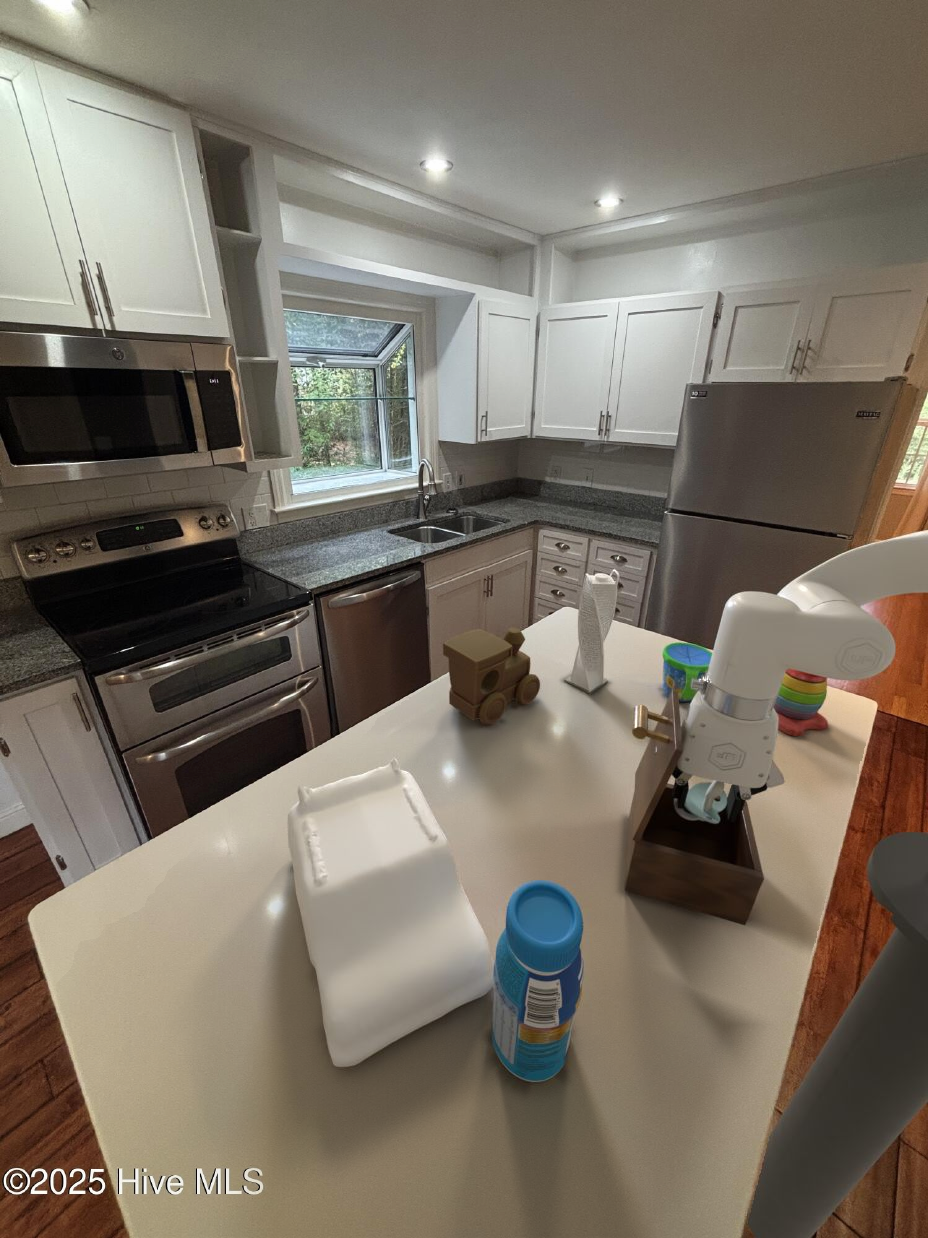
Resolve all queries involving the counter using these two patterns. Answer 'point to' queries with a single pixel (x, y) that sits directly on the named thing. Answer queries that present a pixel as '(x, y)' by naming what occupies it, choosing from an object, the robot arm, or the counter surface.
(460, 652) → the wooden toy train
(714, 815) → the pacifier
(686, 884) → the chest
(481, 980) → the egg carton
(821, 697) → the stacking bear
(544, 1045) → the beverage bottle
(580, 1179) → the counter surface
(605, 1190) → the counter surface
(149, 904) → the counter surface
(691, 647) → the snack cup
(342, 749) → the counter surface
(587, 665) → the skyscraper
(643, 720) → the lid
